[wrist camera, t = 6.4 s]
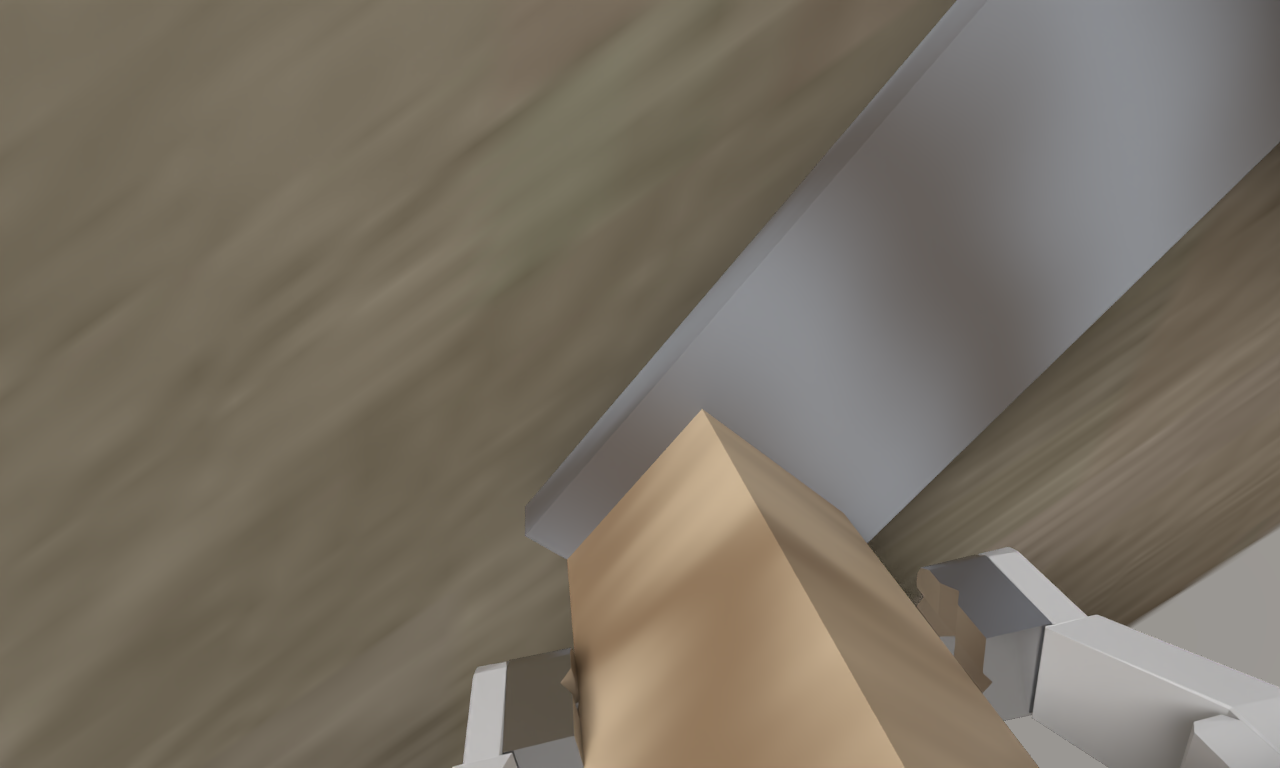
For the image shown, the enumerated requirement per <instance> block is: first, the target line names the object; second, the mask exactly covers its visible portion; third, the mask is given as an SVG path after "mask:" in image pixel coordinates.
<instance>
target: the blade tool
mask: <svg viewBox="0 0 1280 768" xmlns="http://www.w3.org/2000/svg"><path fill="white" fill-rule="evenodd" d="M1279 142H1280V0H957V1H956V2H955V3H954V4H953V6H952V7H951V8H950V9H949V10H948V11H947V13H946V14H945V15H944V16H943V17H942V18H941V20H940V21H939V22H938V23H937V24H936V25H935V27H934V28H933V29H932V30H931V31H930V33H929V34H928V35H927V36H926V37H925V38H924V40H923V41H922V42H921V43H920V44H919V45H918V47H917V48H916V49H915V50H914V51H913V52H912V54H911V55H910V56H909V57H908V58H907V59H906V61H905V62H904V63H903V64H902V65H901V67H900V68H899V69H898V70H897V71H896V72H895V74H894V75H893V76H892V77H891V78H890V79H889V81H888V82H887V83H886V84H885V85H884V86H883V88H882V89H881V90H880V91H879V92H878V94H877V95H876V96H875V97H874V98H873V99H872V101H871V102H870V103H869V104H868V105H867V106H866V108H865V109H864V110H863V111H862V112H861V113H860V115H859V116H858V117H857V118H856V119H855V120H854V122H853V123H852V124H851V125H850V126H849V128H848V129H847V130H846V131H845V132H844V133H843V135H842V136H841V137H840V138H839V139H838V140H837V142H836V143H835V144H834V145H833V146H832V147H831V149H830V150H829V151H828V152H827V153H826V154H825V156H824V157H823V158H822V159H821V160H820V162H819V163H818V164H817V165H816V166H815V167H814V169H813V170H812V171H811V172H810V173H809V174H808V176H807V177H806V178H805V179H804V180H803V181H802V183H801V184H800V185H799V186H798V187H797V188H796V190H795V191H794V192H793V193H792V194H791V196H790V197H789V198H788V199H787V200H786V201H785V203H784V204H783V205H782V206H781V207H780V208H779V210H778V211H777V212H776V213H775V214H774V215H773V217H772V218H771V219H770V220H769V221H768V223H767V224H766V225H765V226H764V227H763V228H762V230H761V231H760V232H759V233H758V234H757V235H756V237H755V238H754V239H753V240H752V241H751V242H750V244H749V245H748V246H747V247H746V248H745V249H744V251H743V252H742V253H741V254H740V255H739V257H738V258H737V259H736V260H735V261H734V262H733V264H732V265H731V266H730V267H729V268H728V269H727V271H726V272H725V273H724V274H723V275H722V276H721V278H720V279H719V280H718V281H717V282H716V283H715V285H714V286H713V287H712V288H711V289H710V291H709V292H708V293H707V294H706V295H705V296H704V298H703V299H702V300H701V301H700V302H699V303H698V305H697V306H696V307H695V308H694V309H693V310H692V312H691V313H690V314H689V315H688V316H687V318H686V319H685V320H684V321H683V322H682V323H681V325H680V326H679V327H678V328H677V329H676V330H675V332H674V333H673V334H672V335H671V336H670V337H669V339H668V340H667V341H666V342H665V343H664V344H663V346H662V347H661V348H660V349H659V350H658V352H657V353H656V354H655V355H654V356H653V357H652V359H651V360H650V361H649V362H648V363H647V364H646V366H645V367H644V368H643V369H642V370H641V371H640V373H639V374H638V375H637V376H636V377H635V378H634V380H633V381H632V382H631V383H630V384H629V386H628V387H627V388H626V389H625V390H624V391H623V393H622V394H621V395H620V396H619V397H618V398H617V400H616V401H615V402H614V403H613V404H612V405H611V407H610V408H609V409H608V410H607V411H606V412H605V414H604V415H603V416H602V417H601V418H600V420H599V421H598V422H597V423H596V424H595V425H594V427H593V428H592V429H591V430H590V431H589V432H588V434H587V435H586V436H585V437H584V438H583V439H582V441H581V442H580V443H579V444H578V445H577V447H576V448H575V449H574V450H573V451H572V452H571V454H570V455H569V456H568V457H567V458H566V459H565V461H564V462H563V463H562V464H561V465H560V466H559V468H558V469H557V470H556V471H555V472H554V473H553V475H552V476H551V477H550V478H549V479H548V481H547V482H546V483H545V484H544V485H543V486H542V488H541V489H540V490H539V491H538V492H537V493H536V495H535V496H534V497H533V498H532V499H531V500H530V502H529V503H528V504H527V505H526V506H525V536H526V537H528V538H530V539H531V540H533V541H535V542H537V543H538V544H540V545H542V546H544V547H546V548H547V549H549V550H551V551H553V552H554V553H556V554H558V555H560V556H562V557H563V558H565V559H567V564H568V577H569V589H570V602H571V615H572V627H573V640H574V653H575V659H576V662H577V668H578V681H579V694H580V699H579V702H578V704H579V717H580V722H581V725H582V740H583V757H584V768H1039V767H1038V765H1037V764H1036V763H1035V762H1034V760H1033V759H1032V758H1031V757H1030V755H1029V754H1028V752H1027V751H1026V750H1025V749H1024V748H1023V746H1022V745H1021V743H1020V742H1019V741H1018V739H1017V738H1016V737H1015V736H1014V734H1013V733H1012V732H1011V730H1010V729H1009V728H1008V726H1007V725H1006V724H1005V722H1004V721H1003V720H1002V719H1001V717H1000V716H999V715H998V713H997V712H996V711H995V709H994V708H993V707H992V706H991V704H990V703H989V702H988V700H987V699H986V698H985V696H984V695H983V694H982V693H981V691H980V690H979V689H978V687H977V686H976V685H975V683H974V682H973V681H972V679H971V678H970V677H969V676H968V674H967V673H966V672H965V670H964V669H963V668H962V666H961V665H960V664H959V663H958V661H957V660H956V659H955V657H954V656H953V655H952V653H951V652H950V651H949V650H948V648H947V647H946V646H945V644H944V643H943V642H942V640H941V639H940V638H939V637H938V635H937V634H936V633H935V631H934V630H933V629H932V627H931V626H930V625H929V624H928V622H927V621H926V620H925V618H924V617H923V616H922V614H921V613H920V612H919V610H918V609H917V608H916V607H915V605H914V604H913V603H912V601H911V600H910V599H909V597H908V596H907V595H906V594H905V592H904V591H903V590H902V588H901V587H900V586H899V584H898V583H897V582H896V581H895V579H894V578H893V577H892V575H891V574H890V573H889V571H888V570H887V569H886V568H885V566H884V565H883V564H882V562H881V561H880V560H879V558H878V557H877V556H876V555H875V553H874V552H873V551H872V549H871V548H870V547H869V545H868V544H867V543H868V542H869V541H870V540H871V539H872V538H873V537H874V536H875V535H876V534H877V533H878V532H879V531H880V530H881V529H882V528H883V527H884V526H885V525H886V524H887V523H889V522H890V521H891V520H892V519H893V518H894V517H895V516H896V515H897V514H898V513H899V512H900V511H901V510H902V509H903V508H904V507H905V506H906V505H907V504H908V503H909V502H910V501H911V500H912V499H913V498H914V497H915V496H916V495H917V494H918V493H919V492H920V491H921V490H922V489H923V488H924V487H926V486H927V485H928V484H929V483H930V482H931V481H932V480H933V479H934V478H935V477H936V476H937V475H938V474H939V473H940V472H941V471H942V470H943V469H944V468H945V467H946V466H947V465H948V464H949V463H950V462H951V461H952V460H953V459H954V458H955V457H956V456H957V455H958V454H959V453H960V452H961V451H963V450H964V449H965V448H966V447H967V446H968V445H969V444H970V443H971V442H972V441H973V440H974V439H975V438H976V437H977V436H978V435H979V434H980V433H981V432H982V431H983V430H984V429H985V428H986V427H987V426H988V425H989V424H990V423H991V422H992V421H993V420H994V419H995V418H996V417H997V416H998V415H1000V414H1001V413H1002V412H1003V411H1004V410H1005V409H1006V408H1007V407H1008V406H1009V405H1010V404H1011V403H1012V402H1013V401H1014V400H1015V399H1016V398H1017V397H1018V396H1019V395H1020V394H1021V393H1022V392H1023V391H1024V390H1025V389H1026V388H1027V387H1028V386H1029V385H1030V384H1031V383H1032V382H1033V381H1034V380H1036V379H1037V378H1038V377H1039V376H1040V375H1041V374H1042V373H1043V372H1044V371H1045V370H1046V369H1047V368H1048V367H1049V366H1050V365H1051V364H1052V363H1053V362H1054V361H1055V360H1056V359H1057V358H1058V357H1059V356H1060V355H1061V354H1062V353H1063V352H1064V351H1065V350H1066V349H1067V348H1068V347H1069V346H1070V345H1071V344H1073V343H1074V342H1075V341H1076V340H1077V339H1078V338H1079V337H1080V336H1081V335H1082V334H1083V333H1084V332H1085V331H1086V330H1087V329H1088V328H1089V327H1090V326H1091V325H1092V324H1093V323H1094V322H1095V321H1096V320H1097V319H1098V318H1099V317H1100V316H1101V315H1102V314H1103V313H1104V312H1105V311H1106V310H1107V309H1108V308H1110V307H1111V306H1112V305H1113V304H1114V303H1115V302H1116V301H1117V300H1118V299H1119V298H1120V297H1121V296H1122V295H1123V294H1124V293H1125V292H1126V291H1127V290H1128V289H1129V288H1130V287H1131V286H1132V285H1133V284H1134V283H1135V282H1136V281H1137V280H1138V279H1139V278H1140V277H1141V276H1142V275H1143V274H1144V273H1145V272H1147V271H1148V270H1149V269H1150V268H1151V267H1152V266H1153V265H1154V264H1155V263H1156V262H1157V261H1158V260H1159V259H1160V258H1161V257H1162V256H1163V255H1164V254H1165V253H1166V252H1167V251H1168V250H1169V249H1170V248H1171V247H1172V246H1173V245H1174V244H1175V243H1176V242H1177V241H1178V240H1179V239H1180V238H1181V237H1182V236H1184V235H1185V234H1186V233H1187V232H1188V231H1189V230H1190V229H1191V228H1192V227H1193V226H1194V225H1195V224H1196V223H1197V222H1198V221H1199V220H1200V219H1201V218H1202V217H1203V216H1204V215H1205V214H1206V213H1207V212H1208V211H1209V210H1210V209H1211V208H1212V207H1213V206H1214V205H1215V204H1216V203H1217V202H1218V201H1220V200H1221V199H1222V198H1223V197H1224V196H1225V195H1226V194H1227V193H1228V192H1229V191H1230V190H1231V189H1232V188H1233V187H1234V186H1235V185H1236V184H1237V183H1238V182H1239V181H1240V180H1241V179H1242V178H1243V177H1244V176H1245V175H1246V174H1247V173H1248V172H1249V171H1250V170H1251V169H1252V168H1253V167H1254V166H1255V165H1257V164H1258V163H1259V162H1260V161H1261V160H1262V159H1263V158H1264V157H1265V156H1266V155H1267V154H1268V153H1269V152H1270V151H1271V150H1272V149H1273V148H1274V147H1275V146H1276V145H1277V144H1278V143H1279Z"/></svg>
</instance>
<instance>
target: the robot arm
mask: <svg viewBox="0 0 1280 768" xmlns="http://www.w3.org/2000/svg"><path fill="white" fill-rule="evenodd" d="M916 587H917V588H918V590H919V591H920V592H921V594H922V595H923V596H924V597H923V598H922V600H921V601H920V602H919V604H918V605H917V606H916V608H917V609H918V610H919V612H920V613H921V614H922V616H923V617H924V618H925V620H926V621H927V622H928V624H929V625H930V626H931V627H932V629H933V630H934V631H935V633H936V634H937V635H938V637H939V638H940V639H941V640H942V642H943V643H944V644H945V646H946V647H947V648H948V650H949V651H950V652H951V653H952V655H953V656H954V657H955V659H956V660H957V661H958V663H959V664H960V665H961V666H962V668H963V669H964V670H965V672H966V673H967V674H968V676H969V677H970V678H971V679H972V681H973V682H974V683H975V685H976V686H977V687H978V689H979V690H980V691H981V693H982V694H983V695H984V696H985V698H986V699H987V700H988V702H989V703H990V704H991V706H992V707H993V708H994V709H995V711H996V712H997V713H998V715H999V716H1000V717H1001V719H1002V720H1003V721H1006V720H1010V719H1015V718H1020V717H1024V716H1029V715H1032V718H1033V719H1034V720H1036V721H1037V722H1039V723H1041V724H1042V725H1044V726H1045V727H1047V728H1048V729H1050V730H1051V731H1053V732H1054V733H1056V734H1057V735H1059V736H1061V737H1062V738H1064V739H1065V740H1067V741H1069V742H1070V743H1071V744H1073V745H1075V746H1076V747H1078V748H1079V749H1081V750H1082V751H1084V752H1085V753H1087V754H1088V755H1090V756H1092V757H1093V758H1095V759H1096V760H1098V761H1099V762H1101V763H1102V764H1104V765H1105V766H1107V767H1109V768H1280V687H1278V686H1275V685H1273V684H1270V683H1268V682H1265V681H1263V680H1260V679H1258V678H1255V677H1253V676H1250V675H1247V674H1245V673H1242V672H1240V671H1238V670H1235V669H1233V668H1230V667H1228V666H1225V665H1223V664H1220V663H1218V662H1215V661H1213V660H1210V659H1208V658H1205V657H1203V656H1200V655H1197V654H1195V653H1192V652H1190V651H1187V650H1185V649H1182V648H1180V647H1177V646H1175V645H1172V644H1170V643H1167V642H1165V641H1162V640H1160V639H1157V638H1155V637H1152V636H1150V635H1147V634H1145V633H1142V632H1139V631H1137V630H1134V629H1132V628H1130V627H1127V626H1125V625H1122V624H1120V623H1117V622H1115V621H1112V620H1110V619H1107V618H1104V617H1102V616H1099V615H1092V616H1087V615H1086V614H1085V613H1084V612H1082V611H1081V610H1080V609H1079V608H1078V607H1077V606H1076V605H1075V604H1074V603H1073V602H1072V601H1071V600H1070V599H1069V598H1067V597H1066V596H1065V595H1064V594H1063V593H1062V592H1061V591H1060V590H1059V589H1058V588H1057V587H1056V586H1055V585H1054V584H1053V583H1051V582H1050V581H1049V580H1048V579H1047V578H1046V577H1045V576H1044V575H1043V574H1042V573H1041V572H1040V571H1039V570H1038V569H1036V568H1035V567H1034V566H1033V565H1032V564H1031V563H1030V562H1029V561H1028V560H1027V559H1026V558H1025V557H1024V556H1023V555H1021V554H1020V553H1019V552H1018V551H1017V550H1015V549H1013V548H1011V547H1006V548H1001V549H997V550H993V551H989V552H985V553H980V554H978V555H972V556H968V557H963V558H959V559H955V560H951V561H947V562H942V563H938V564H934V565H930V566H926V567H922V568H920V570H919V572H918V574H917V583H916ZM579 699H580V694H579V681H578V668H577V662H576V659H575V655H574V652H573V649H572V648H567V649H562V650H557V651H552V652H547V653H542V654H537V655H532V656H527V657H522V658H517V659H512V660H509V661H506V662H501V663H496V664H491V665H486V666H481V667H477V669H476V671H475V673H474V676H473V682H472V690H471V699H470V708H469V716H468V725H467V733H466V742H465V750H464V759H463V764H461V765H457V766H453V767H452V768H584V757H583V740H582V725H581V722H580V717H579V704H578V702H579Z"/></svg>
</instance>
